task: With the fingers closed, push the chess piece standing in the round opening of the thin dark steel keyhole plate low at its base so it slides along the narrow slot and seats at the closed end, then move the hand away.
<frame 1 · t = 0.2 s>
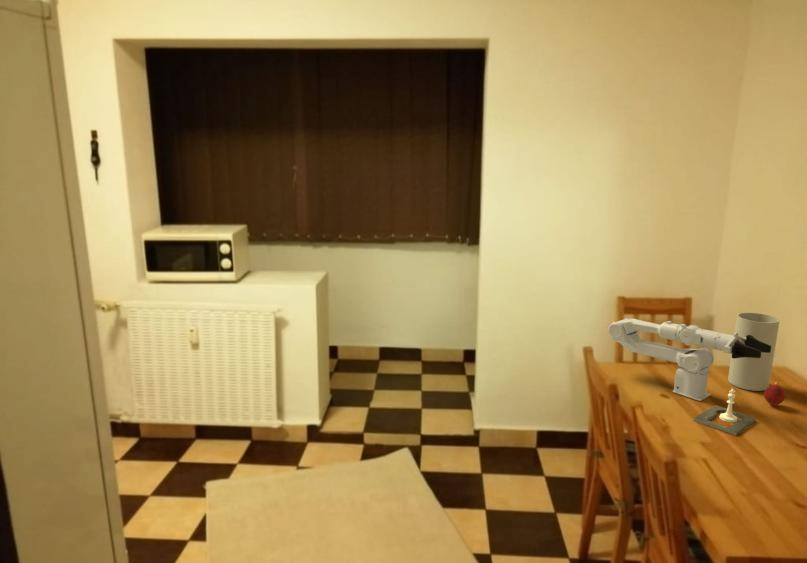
hand: (765, 351, 172), 21 cm above the table, tool horizontal, fingers open, 7 cm apart
cylinder vase: (747, 385, 200), on the table
keyhole plate: (724, 421, 172), on the table
onion: (772, 406, 183), on the table
chess piece: (728, 419, 174), resting in keyhole plate
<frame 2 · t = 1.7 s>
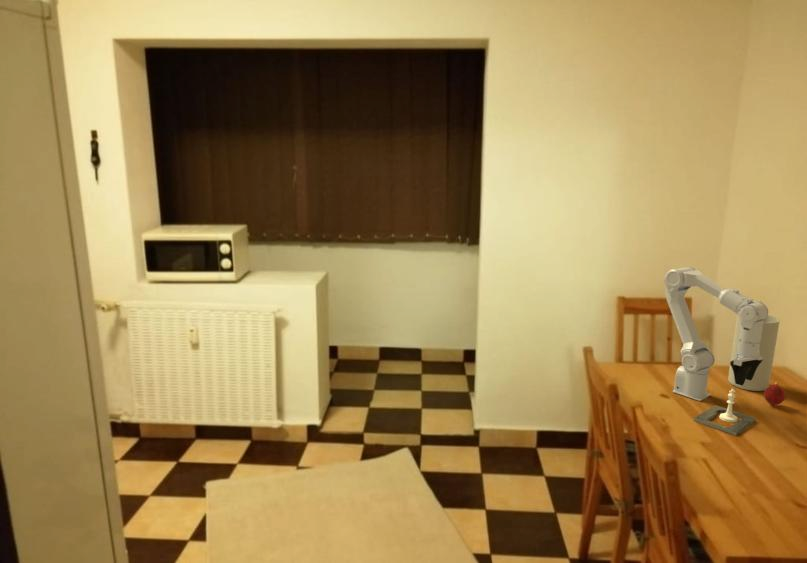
hand: (743, 381, 176), 10 cm above the table, tool pointing down, fingers open, 6 cm apart
nothing on the table moved.
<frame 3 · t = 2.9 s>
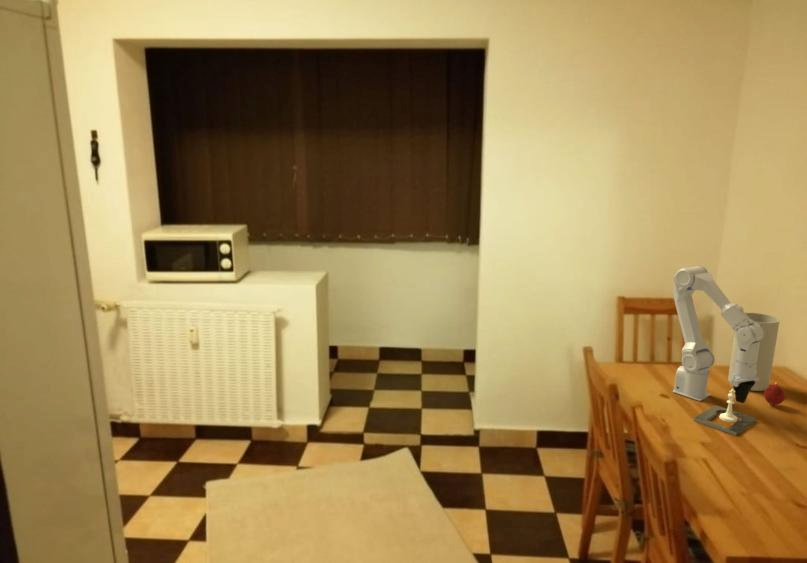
hand: (740, 401, 178), 4 cm above the table, tool pointing down, fingers closed
nothing on the table moved.
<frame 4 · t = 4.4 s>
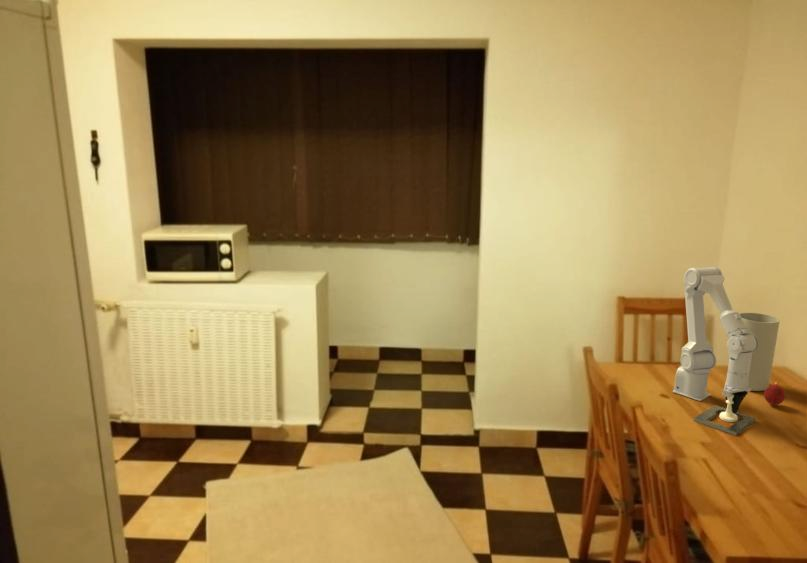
hand: (732, 412, 175), 2 cm above the table, tool pointing down, fingers closed, pressing on chess piece
chess piece: (728, 418, 174), resting in keyhole plate, touching gripper
everything else where it was.
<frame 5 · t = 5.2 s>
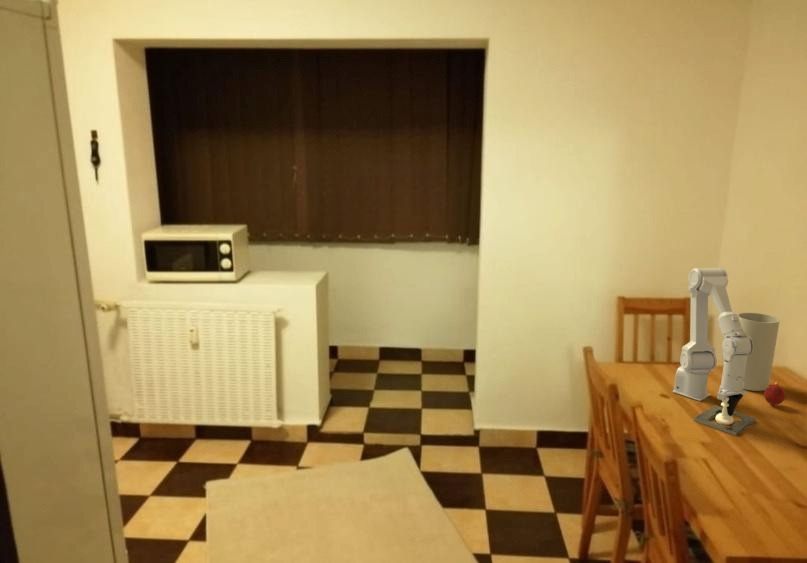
hand: (727, 415, 173), 2 cm above the table, tool pointing down, fingers closed, pressing on chess piece
chess piece: (724, 420, 172), resting in keyhole plate, touching gripper
everything else where it was.
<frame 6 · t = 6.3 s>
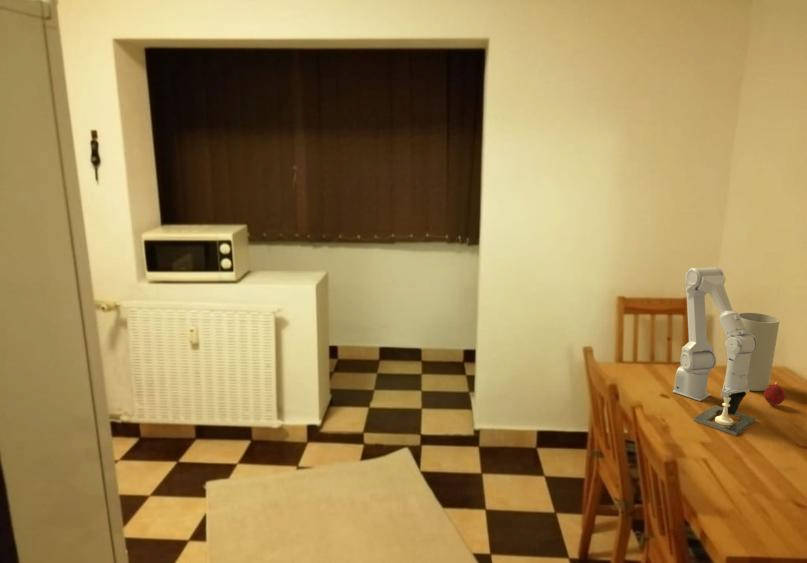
hand: (730, 413, 175), 1 cm above the table, tool pointing down, fingers closed
chess piece: (723, 422, 172), resting in keyhole plate
everything else where it was.
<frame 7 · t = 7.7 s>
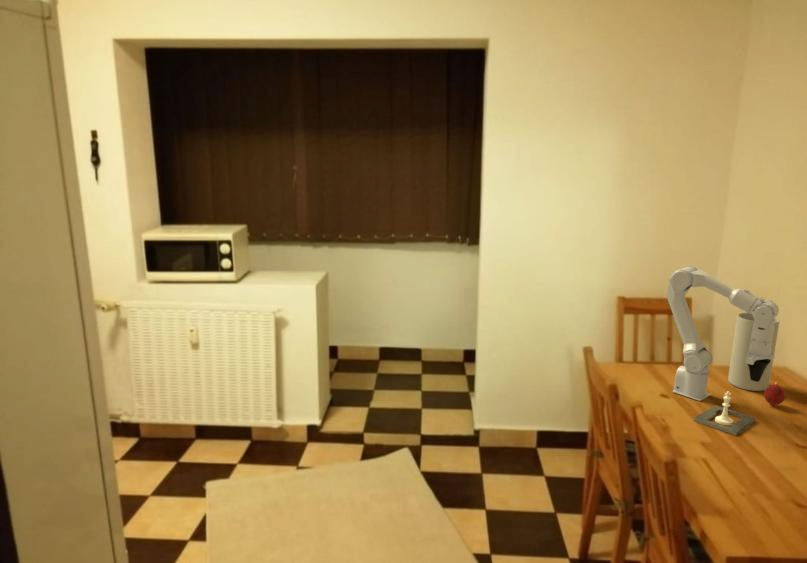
hand: (755, 380, 177), 10 cm above the table, tool pointing down, fingers closed
nothing on the table moved.
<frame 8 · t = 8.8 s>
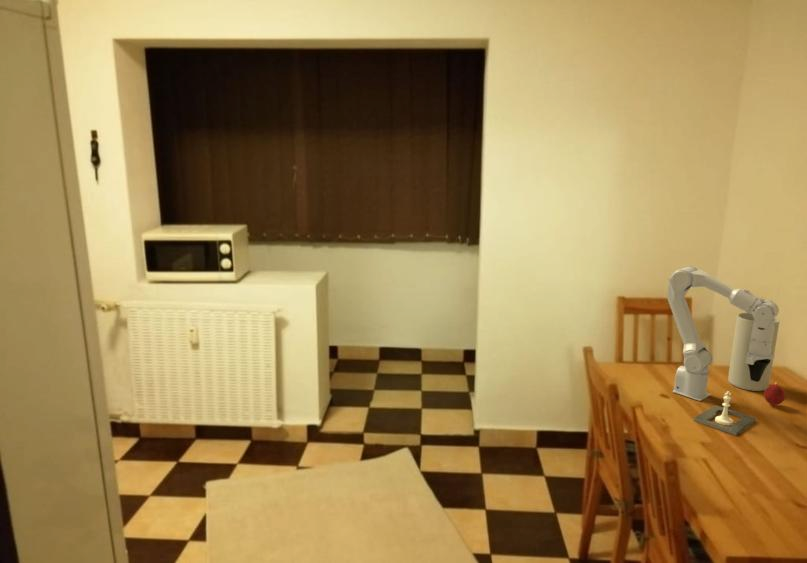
hand: (755, 380, 177), 10 cm above the table, tool pointing down, fingers closed
nothing on the table moved.
at the end: chess piece 2.1 cm from the target spot on the keyhole plate, point 0.0 cm above the keyhole plate's base; chess piece tilted 0°; the gripper is holding nothing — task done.
